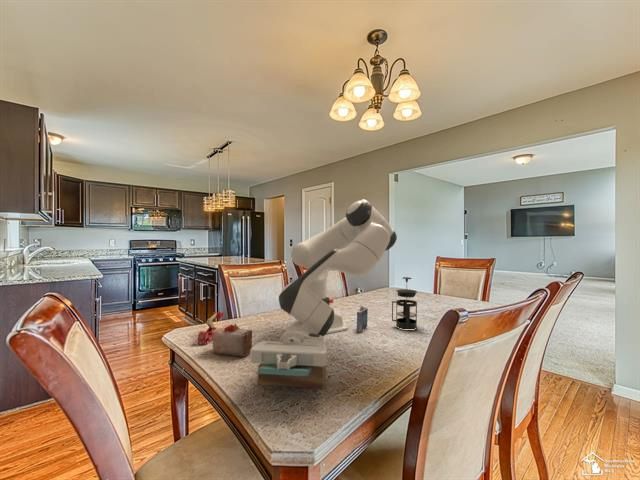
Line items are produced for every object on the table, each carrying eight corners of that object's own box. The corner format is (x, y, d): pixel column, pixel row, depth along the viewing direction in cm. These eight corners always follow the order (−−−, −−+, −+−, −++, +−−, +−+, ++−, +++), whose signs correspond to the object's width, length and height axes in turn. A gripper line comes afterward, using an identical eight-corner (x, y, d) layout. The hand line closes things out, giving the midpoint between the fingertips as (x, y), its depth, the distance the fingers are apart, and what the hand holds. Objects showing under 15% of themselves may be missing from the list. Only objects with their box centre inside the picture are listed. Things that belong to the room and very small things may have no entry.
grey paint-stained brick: (208, 355, 102) (208, 326, 102) (221, 346, 109) (221, 320, 109) (243, 359, 98) (244, 330, 98) (255, 350, 106) (255, 323, 106)
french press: (416, 325, 138) (417, 276, 138) (420, 331, 129) (421, 279, 129) (391, 324, 140) (391, 275, 140) (392, 330, 131) (393, 278, 131)
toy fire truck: (196, 345, 111) (196, 319, 111) (216, 333, 124) (216, 310, 124) (204, 345, 110) (204, 320, 110) (223, 334, 124) (224, 311, 123)
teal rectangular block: (267, 364, 80) (257, 368, 72) (311, 366, 79) (306, 370, 70) (267, 369, 80) (257, 373, 71) (311, 371, 79) (306, 376, 70)
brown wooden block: (268, 367, 93) (269, 351, 93) (326, 370, 91) (326, 353, 91) (258, 384, 82) (258, 366, 82) (322, 388, 80) (323, 369, 80)
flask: (361, 333, 127) (361, 308, 127) (354, 331, 128) (354, 307, 128) (368, 327, 135) (368, 304, 135) (362, 326, 136) (362, 303, 136)
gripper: (258, 333, 86) (241, 351, 72) (329, 335, 83) (324, 355, 70) (258, 354, 86) (240, 377, 72) (328, 358, 83) (324, 381, 70)
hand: (283, 366), depth 71 cm, fingers closed
